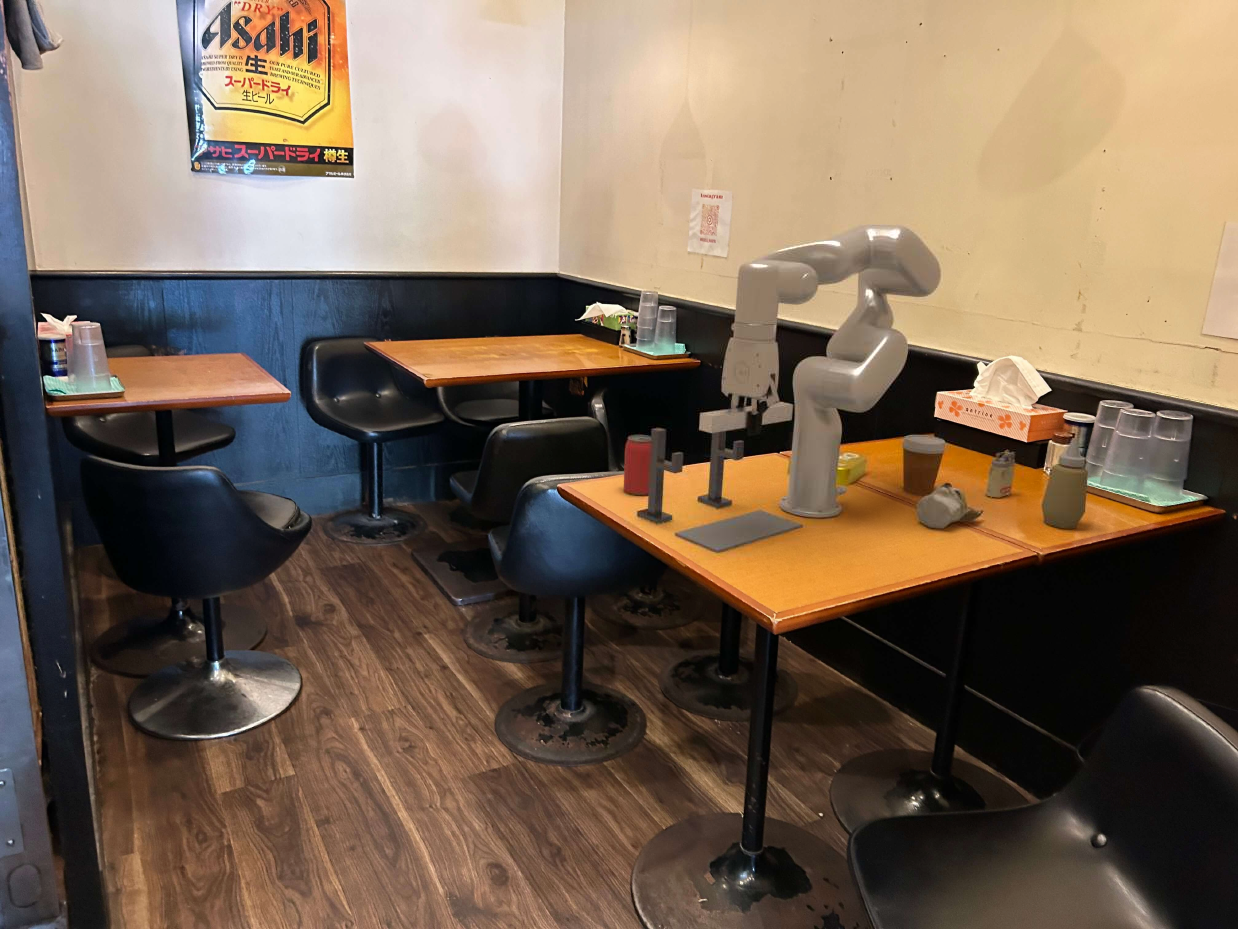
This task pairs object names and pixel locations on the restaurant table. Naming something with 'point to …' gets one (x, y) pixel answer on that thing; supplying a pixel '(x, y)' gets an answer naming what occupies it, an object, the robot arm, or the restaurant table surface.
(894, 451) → the restaurant table surface
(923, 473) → the disposable coffee cup
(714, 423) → the rail
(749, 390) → the robot arm
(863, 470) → the element tile
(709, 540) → the mat
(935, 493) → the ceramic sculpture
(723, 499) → the hook stand
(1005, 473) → the lighter
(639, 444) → the beer can
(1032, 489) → the restaurant table surface
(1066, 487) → the squeeze bottle
